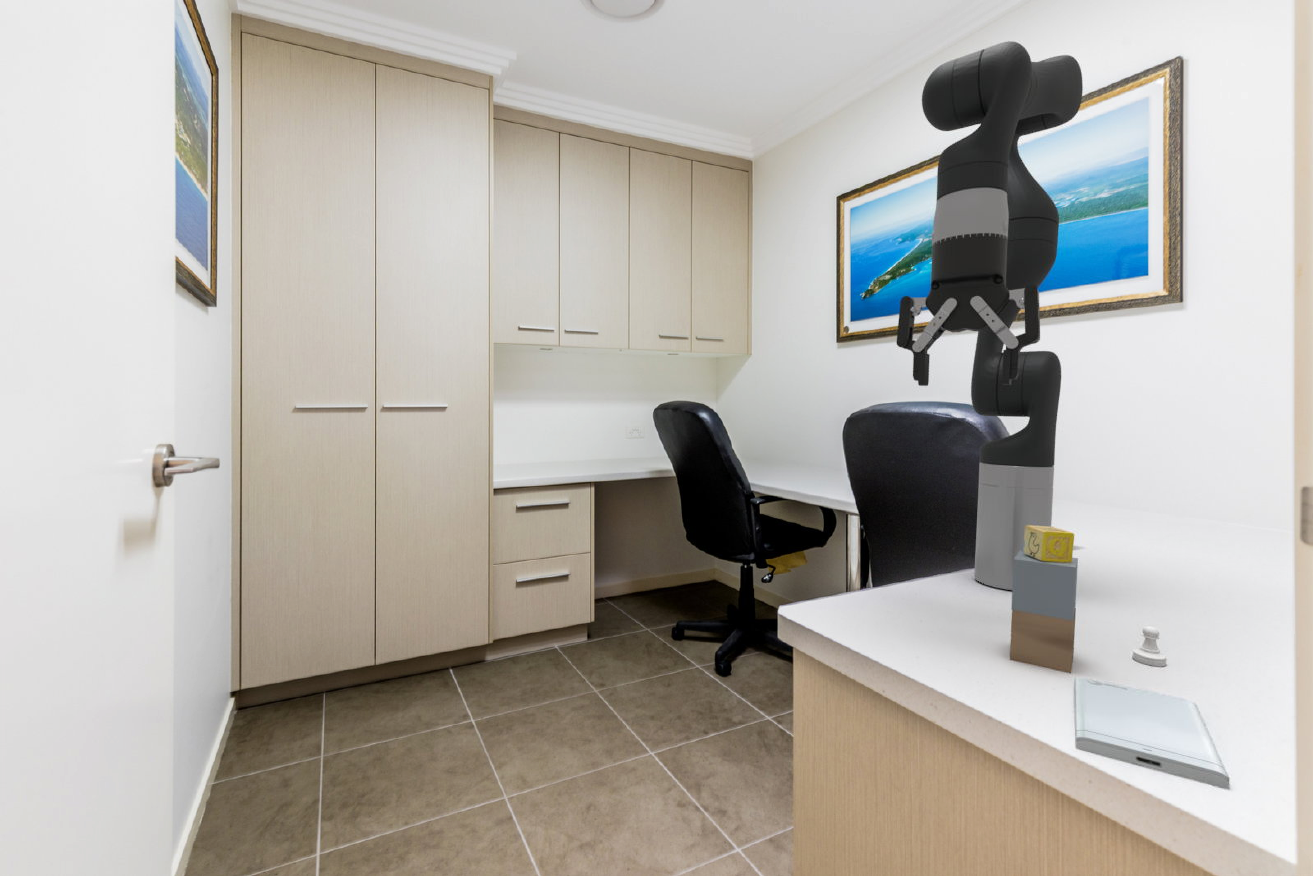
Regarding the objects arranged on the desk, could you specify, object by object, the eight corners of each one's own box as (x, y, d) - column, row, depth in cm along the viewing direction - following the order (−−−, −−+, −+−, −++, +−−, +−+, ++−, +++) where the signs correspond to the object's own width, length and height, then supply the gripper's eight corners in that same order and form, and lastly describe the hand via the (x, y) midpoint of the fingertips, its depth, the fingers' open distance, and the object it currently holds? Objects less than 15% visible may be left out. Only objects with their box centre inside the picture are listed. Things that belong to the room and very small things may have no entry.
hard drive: (1074, 674, 54) (1076, 733, 44) (1196, 700, 50) (1230, 772, 39) (1073, 693, 54) (1074, 755, 44) (1195, 721, 50) (1229, 797, 39)
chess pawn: (1160, 659, 61) (1162, 624, 61) (1170, 669, 59) (1172, 633, 59) (1128, 655, 62) (1130, 620, 62) (1137, 664, 60) (1139, 628, 60)
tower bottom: (1015, 645, 64) (1017, 598, 64) (1073, 657, 61) (1075, 608, 61) (1009, 660, 60) (1012, 609, 60) (1071, 674, 57) (1073, 621, 57)
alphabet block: (1052, 555, 62) (1054, 525, 62) (1073, 563, 59) (1075, 531, 59) (1022, 554, 62) (1023, 524, 62) (1041, 562, 59) (1043, 530, 59)
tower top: (1017, 598, 64) (1019, 550, 64) (1075, 608, 61) (1077, 558, 61) (1011, 609, 60) (1013, 559, 60) (1073, 620, 57) (1075, 567, 57)
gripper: (1046, 238, 67) (1039, 386, 68) (910, 255, 76) (905, 386, 76) (1042, 220, 61) (1034, 383, 62) (894, 241, 69) (889, 384, 70)
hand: (963, 385), depth 69 cm, fingers open, 8 cm apart
